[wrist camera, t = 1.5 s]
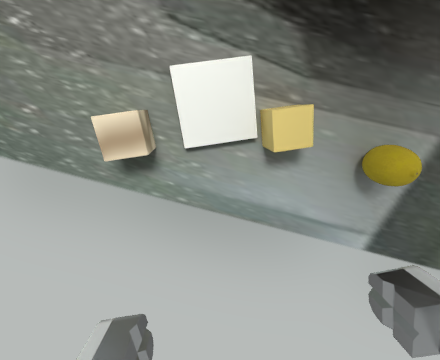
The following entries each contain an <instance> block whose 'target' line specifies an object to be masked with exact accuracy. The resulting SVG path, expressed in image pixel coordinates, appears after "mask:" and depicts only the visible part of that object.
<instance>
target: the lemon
mask: <svg viewBox="0 0 440 360" xmlns="http://www.w3.org/2000/svg"><path fill="white" fill-rule="evenodd" d="M362 167H363V171H364V173H365V174H366V175H367V176H368V177H369V178H370V179H371V180H373V181H375V182H377V183H379V184H382V185H387V186H403V185H406V184H409V183H411V182H413V181H414V180H415V179H416V178H417V177H418V176H419V175H420V173H421V170H422V163H421V160H420V158H419V157H418V156H417V155H416V154H415V153H414V152H412V151H411V150H409V149H407V148H404V147H401V146H397V145H382V146H378V147H375V148H373V149H371V150H370V151H369V152H368V153H367V154H366V155H365V156H364V158H363V161H362Z"/></svg>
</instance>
